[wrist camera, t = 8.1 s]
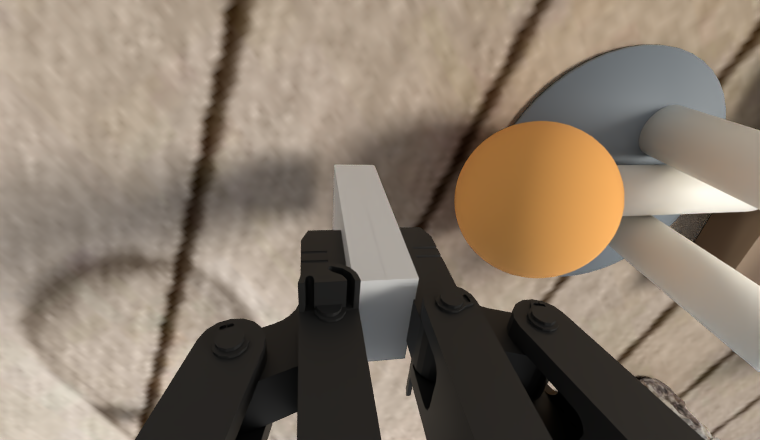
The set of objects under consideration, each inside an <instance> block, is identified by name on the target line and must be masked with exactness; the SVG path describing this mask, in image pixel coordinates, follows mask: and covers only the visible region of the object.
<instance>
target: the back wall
mask: <svg viewBox="0 0 760 440" xmlns="http://www.w3.org/2000/svg"><path fill="white" fill-rule="evenodd" d="M694 243H695V244H696V245H698V246H699V247H701V248H702V249H704V250H706V251H707V252H709V253H710V254H712V255H713V256H715V257H716V258H718V259H719V260H721V261H722V262H724V263H725V264H727V265H729V266H730V267H732V268H733V269H735V270H736V271H738V272H739V273H741V274H742V275H744V276H745V277H747V278H748V279H750V280H752V281H753V282H755V283H756V284H758V285H759V286H760V210H759V209H758V210H754V211H749V212H724V213H712V215H711V216H710V218H709V220H708V221H707V223H706V224H705V226H704V228H703V229H702V231H701V232H700V234H699V236H698V237H697V239H696V241H695V242H694Z"/></svg>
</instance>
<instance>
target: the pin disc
mask: <svg viewBox="0 0 760 440" xmlns="http://www.w3.org/2000/svg"><path fill="white" fill-rule="evenodd" d="M670 105H681V106H684V107H687V108H690V109H693V110H697V111H700V112H703V113H706V114H709V115H713V116H716V117H719V118H722V119H725V120H726V106H725V99H724V94H723V91H722V88H721V85H720V82H719V80H718V79H717V77H716V75H715V74H714V72H713V70H712V69H711V68H710V67H709V66H708V65H707V64H706V63H705V62H704V61H703V60H701V59H700V58H698V57H697V56H695V55H694V54H692V53H690V52H687V51H685V50H682V49H680V48H675V47H670V46H664V45H637V46H630V47H624V48H621V49H617V50H614V51H611V52H607V53H605V54H602V55H600V56H598V57H595V58H593V59H591V60H589V61H587V62H585V63H583V64H581V65H580V66H578V67H576V68H574V69H573V70H571V71H569V72H568V73H567V74H565V75H564V76H562V77H561V78H560V79H558V80H557V81H556V82H554V83H553V84H552V85H551V86H549V87H548V88H547V89H546V90H545V91H544V92H543V93H542V94H541V95H539V96H538V97H537V98H536V99H535V100H534V102H533V103H532V104H531V105H530V106H529V107H528V108H527V109H526V110H525V111H524V113H523V114H522V115H521V116H520V118H519V119H518V120H517V122H516V123H515V125H516V124H520V123H525V122H532V121H551V122H558V123H562V124H566V125H570V126H573V127H575V128H577V129H580V130H582V131H584V132H585V133H587V134H589V135H590V136H592V137H593V138H594V139H596V140H597V141H598V142H599V143H600V144H601V145H602V146H604V147H605V149H606V150H607V151H608V152H609V154H610V155H611V156H612V158H613V159H614V161H615V163H616V165H667V164H665V163H663V162H661V161H659V160H657V159H655V158H653V157H651V156H649V155H647V154H645V153H643V152H642V151H641V149H640V146H639V137H640V133H641V131H642V129H643V127H644V125H645V123H646V122H647V121H648V120H649V119H650V117H651V116H652V115H654V114H655V113H656V112H657V111H659V110H660V109H662V108H664V107H666V106H670ZM680 215H681V214H672V215H652V216H653V217H655V218H657V219H658V220H660V221H661V222H663V223H664V224H666V225H667V226H670V225H671V224H672V223H673V222H674V221H675V220H676V219H677V218H678V217H679V216H680ZM622 259H624V258H623V257H622V256H620V255H619V254H618V253H617V252H616V251H614V250H613V249H612V248H611V247H610V246H609V245H607V246H606V248H605V249H604V250H603V251H602V252H601V253H600V254H599V255H598V256H597V257H596V258H594V259H593V260H592V261H591V262H589V263H588V264H586V265H584V266H583V267H581V268H579V269H577V270H575V271H572V272H570V273H567V274H563V275H560V276H572V275H579V274H584V273H589V272H592V271H595V270H598V269H602V268H604V267H607V266H609V265H612V264H614V263H616V262H618V261H620V260H622Z"/></svg>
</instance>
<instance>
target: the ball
mask: <svg viewBox="0 0 760 440" xmlns="http://www.w3.org/2000/svg"><path fill="white" fill-rule="evenodd" d="M454 203H455V213H456V218H457V222H458V225H459V227H460V230H461V232H462V234H463V236H464V238H465V240H466V241H467V243H468V244H469V245H470V247H471V248H472V249H473V250H474V251H475V253H476V254H478V255H479V256H480V257H481V258H482V259H483V260H485V261H486V262H487V263H489V264H490V265H492V266H494V267H496V268H498V269H500V270H502V271H504V272H506V273H509V274H512V275H517V276H521V277H527V278H547V277H555V276H560V275H563V274H567V273H570V272H572V271H575V270H577V269H579V268H581V267H583V266H584V265H586V264H588V263H589V262H591V261H592V260H593V259H594V258H596V257H597V256H598V255H599V254H600V253H601V252H602V251H603V250H604V249H605V248H606V246H607V245H608V244H609V243H610V241H611V240H612V238H613V237H614V235H615V234H616V231H617V229H618V227H619V225H620V222H621V219H622V215H623V210H624V186H623V181H622V178H621V175H620V172H619V169H618V167H617V165H616V163H615V161H614V159H613V158H612V156H611V155H610V154H609V152H608V151H607V150H606V149H605V147H604V146H602V145H601V144H600V143H599V142H598V141H597V140H596V139H594V138H593V137H592V136H590V135H589V134H587V133H585V132H584V131H582V130H580V129H577V128H575V127H573V126H570V125H566V124H562V123H558V122H551V121H532V122H525V123H520V124H516V125H512V126H510V127H507V128H505V129H502V130H500V131H498V132H497V133H495V134H493V135H492V136H490V137H489V138H487V139H486V140H485V141H483V142H482V143H481V144H480V145H479V146H478V147H477V148H476V149H475V150H474V151H473V152H472V154H471V155H470V156H469V158H468V159H467V161H466V162H465V164H464V166H463V168H462V170H461V172H460V175H459V177H458V180H457V184H456V189H455V200H454Z"/></svg>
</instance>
